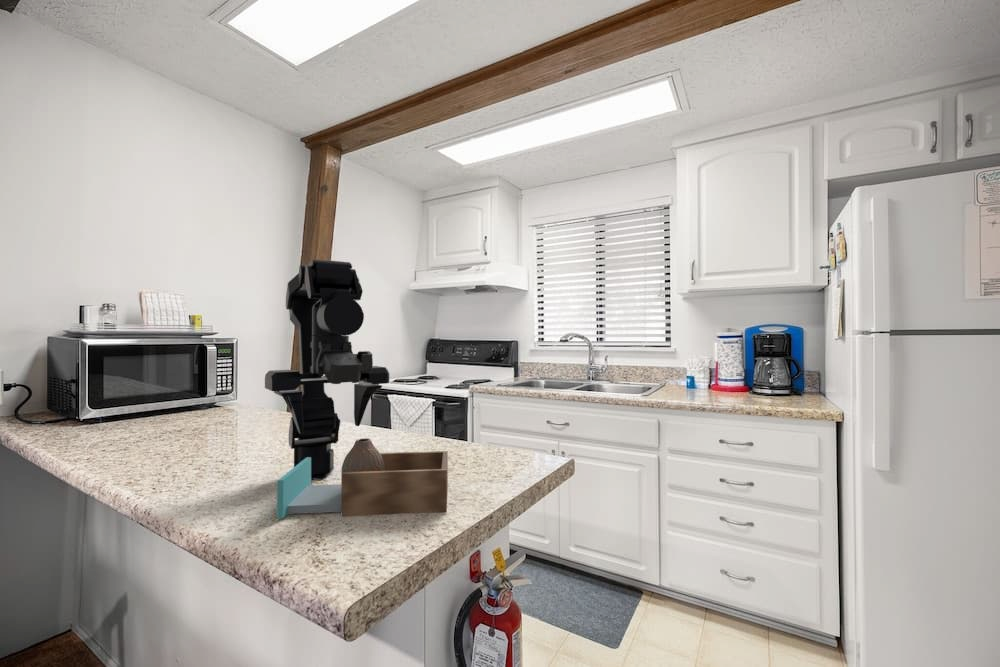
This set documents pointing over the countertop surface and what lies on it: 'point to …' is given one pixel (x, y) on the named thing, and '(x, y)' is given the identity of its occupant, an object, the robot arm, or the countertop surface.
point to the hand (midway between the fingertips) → (330, 429)
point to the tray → (305, 493)
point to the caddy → (398, 486)
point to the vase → (363, 458)
